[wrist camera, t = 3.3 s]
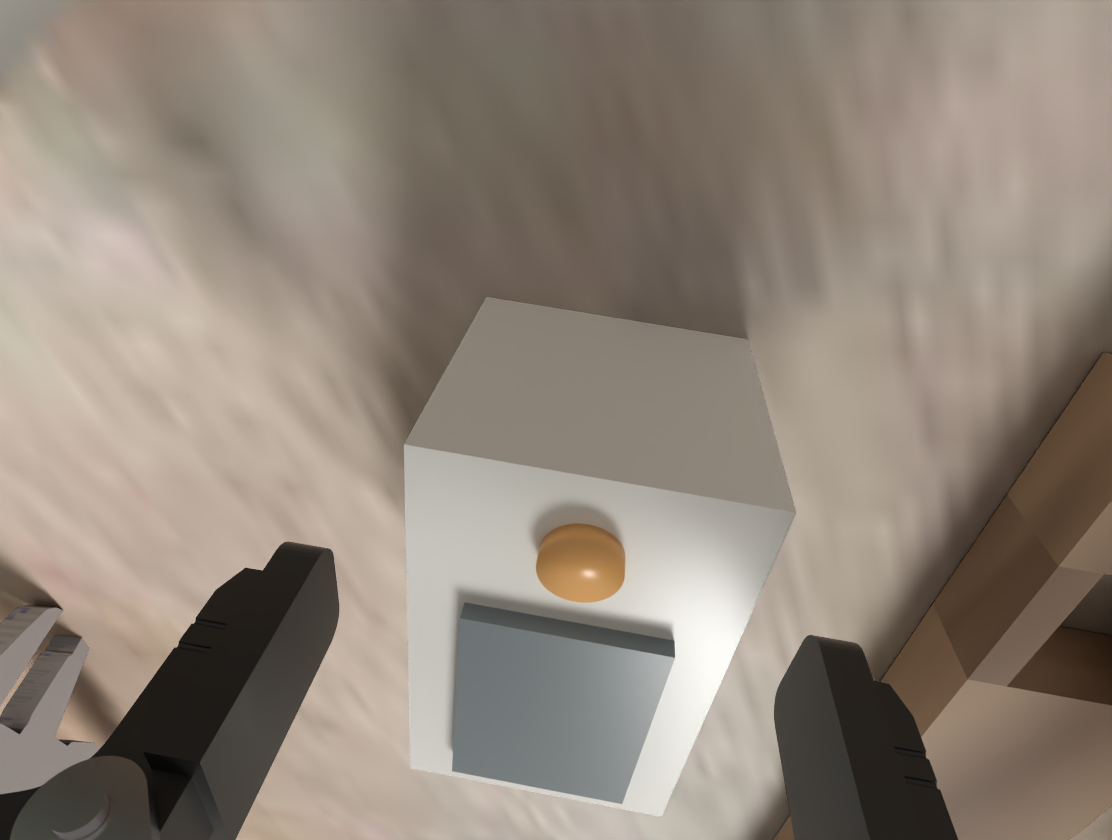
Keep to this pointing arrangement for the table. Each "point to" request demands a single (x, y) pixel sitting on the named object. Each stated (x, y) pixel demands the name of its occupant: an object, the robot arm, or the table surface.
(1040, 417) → the table surface
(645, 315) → the table surface
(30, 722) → the caliper
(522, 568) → the block
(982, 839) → the bar
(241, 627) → the robot arm
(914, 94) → the table surface
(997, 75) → the table surface
